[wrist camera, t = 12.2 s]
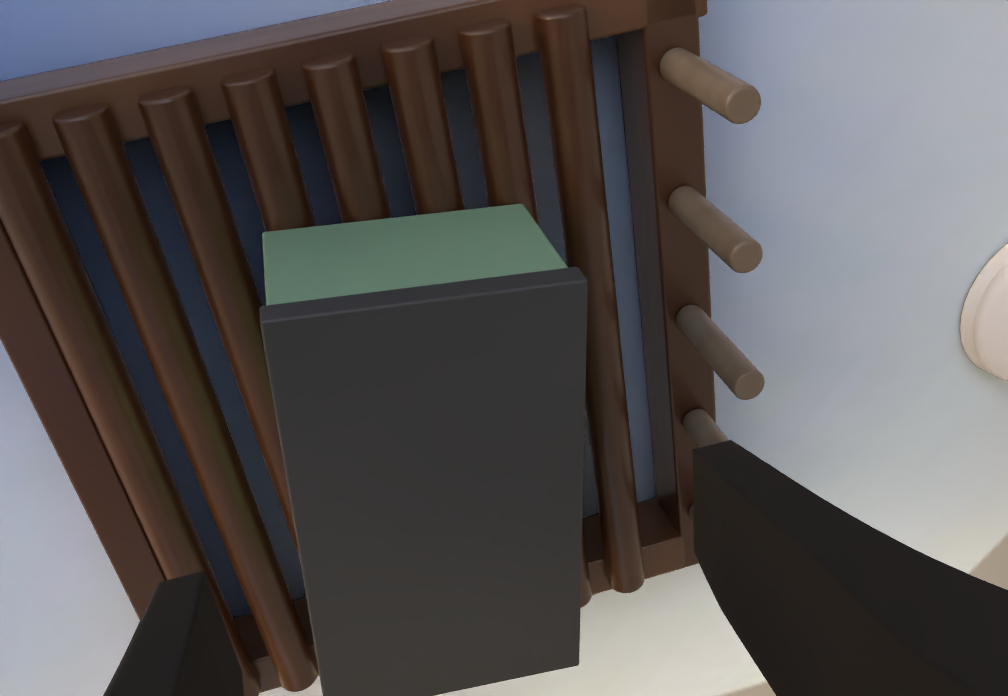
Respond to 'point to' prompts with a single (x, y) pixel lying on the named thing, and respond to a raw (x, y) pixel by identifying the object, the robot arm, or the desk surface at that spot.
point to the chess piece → (988, 317)
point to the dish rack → (360, 197)
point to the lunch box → (431, 445)
